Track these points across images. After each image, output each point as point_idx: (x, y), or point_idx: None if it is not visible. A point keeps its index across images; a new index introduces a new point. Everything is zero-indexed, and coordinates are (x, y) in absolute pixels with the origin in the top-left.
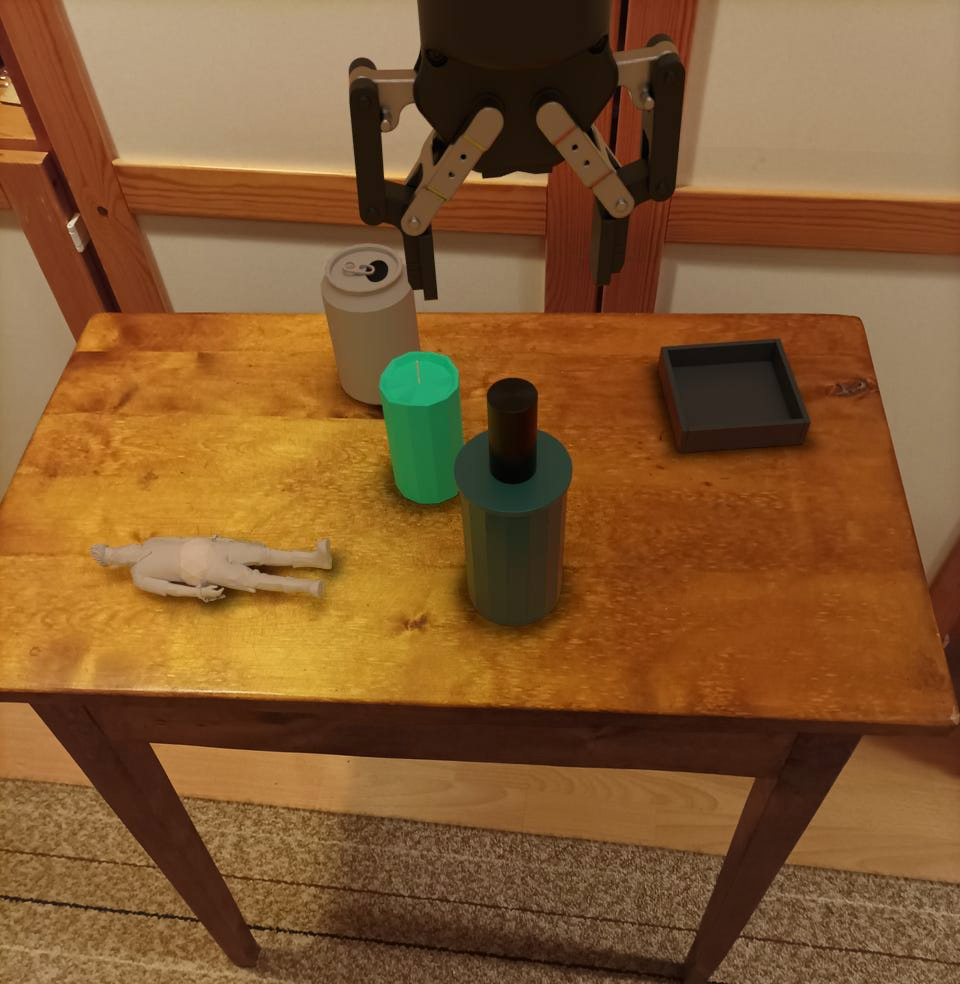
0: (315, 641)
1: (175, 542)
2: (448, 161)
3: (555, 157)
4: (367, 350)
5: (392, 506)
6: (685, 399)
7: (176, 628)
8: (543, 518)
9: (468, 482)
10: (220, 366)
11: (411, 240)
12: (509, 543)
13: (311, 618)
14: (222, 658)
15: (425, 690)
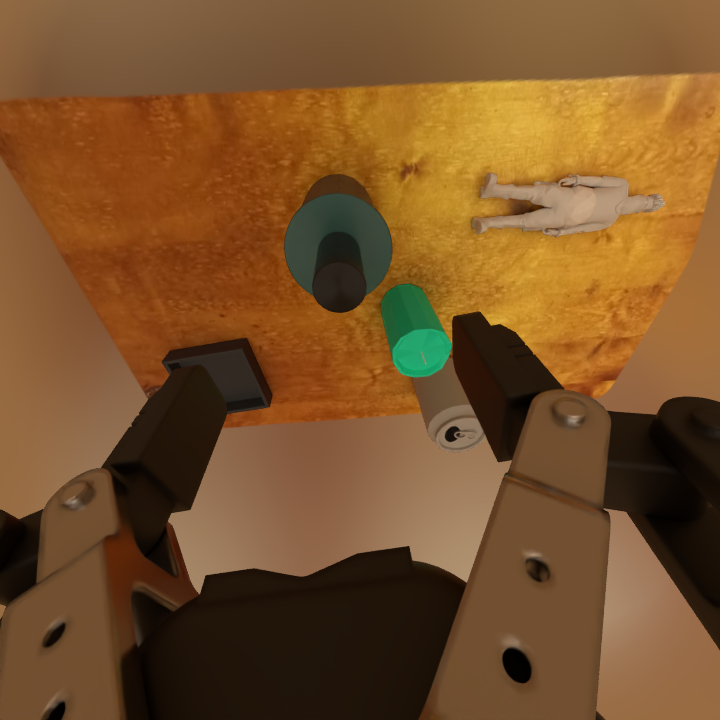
0: (486, 144)
1: (595, 218)
2: (576, 635)
3: (174, 638)
4: (453, 383)
5: (428, 280)
6: (250, 375)
7: (593, 148)
8: None
9: (377, 230)
10: None
11: (542, 388)
12: (336, 189)
13: (488, 168)
14: (561, 118)
15: (398, 95)
